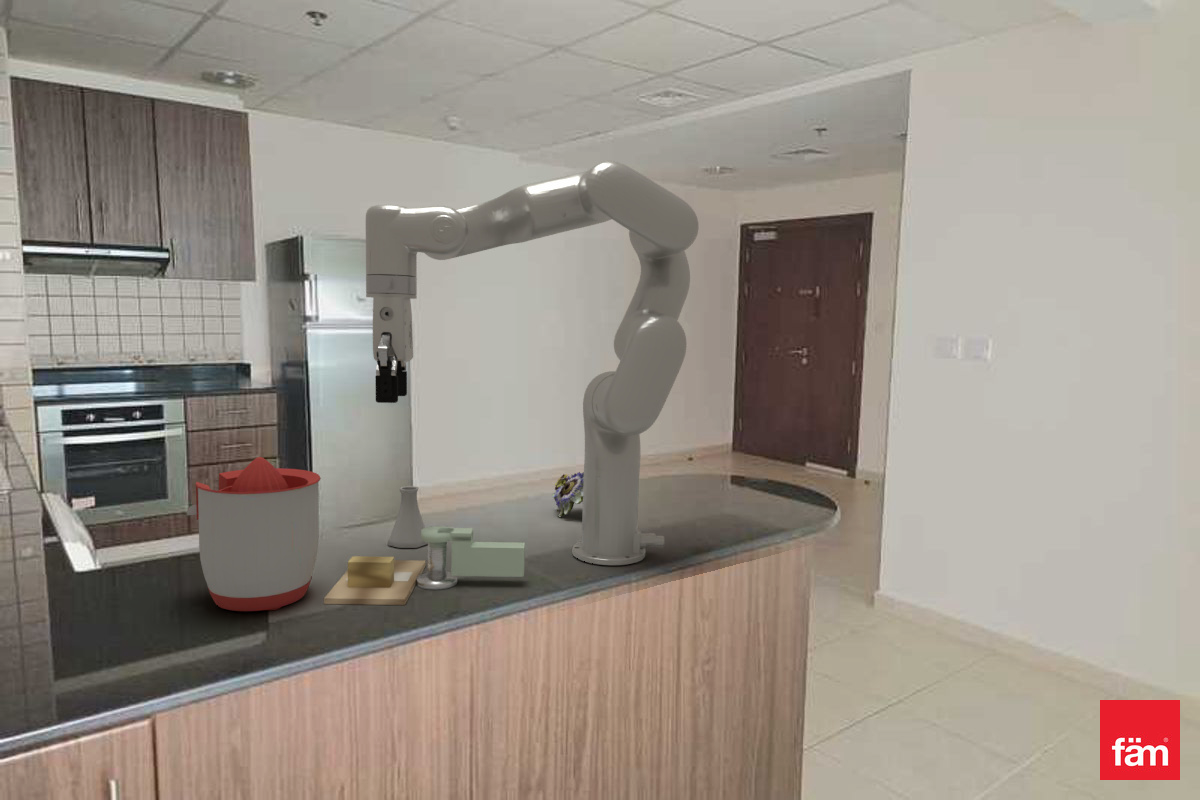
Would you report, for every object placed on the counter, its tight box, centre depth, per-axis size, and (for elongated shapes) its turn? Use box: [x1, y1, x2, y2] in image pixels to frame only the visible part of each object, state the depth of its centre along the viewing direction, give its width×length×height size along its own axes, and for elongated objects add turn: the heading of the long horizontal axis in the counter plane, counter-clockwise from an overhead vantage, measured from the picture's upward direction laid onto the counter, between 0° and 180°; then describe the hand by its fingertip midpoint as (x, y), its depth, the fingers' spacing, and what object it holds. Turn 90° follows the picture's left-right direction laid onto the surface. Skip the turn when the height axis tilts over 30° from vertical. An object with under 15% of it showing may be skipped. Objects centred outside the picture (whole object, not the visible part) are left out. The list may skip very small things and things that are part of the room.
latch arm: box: [421, 525, 526, 578], centre depth 114 cm, size 15×5×6 cm, turn 93°
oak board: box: [323, 555, 427, 606], centre depth 113 cm, size 11×17×4 cm, turn 3°
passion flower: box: [551, 471, 584, 517], centre depth 156 cm, size 11×11×12 cm
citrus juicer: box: [186, 456, 321, 612], centre depth 104 cm, size 16×17×20 cm
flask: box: [386, 485, 428, 549], centre depth 133 cm, size 7×7×10 cm
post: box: [416, 542, 458, 591], centre depth 114 cm, size 6×6×7 cm
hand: (391, 399), depth 118 cm, fingers open, 9 cm apart
